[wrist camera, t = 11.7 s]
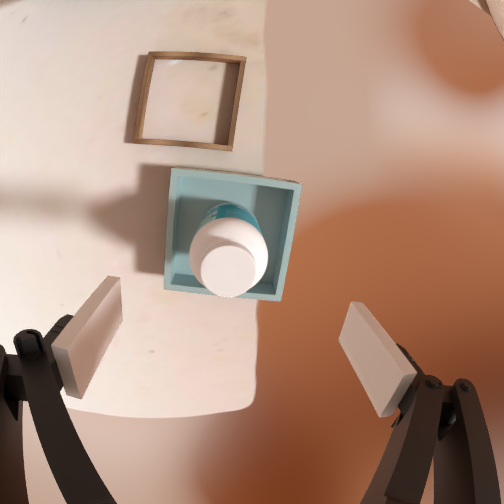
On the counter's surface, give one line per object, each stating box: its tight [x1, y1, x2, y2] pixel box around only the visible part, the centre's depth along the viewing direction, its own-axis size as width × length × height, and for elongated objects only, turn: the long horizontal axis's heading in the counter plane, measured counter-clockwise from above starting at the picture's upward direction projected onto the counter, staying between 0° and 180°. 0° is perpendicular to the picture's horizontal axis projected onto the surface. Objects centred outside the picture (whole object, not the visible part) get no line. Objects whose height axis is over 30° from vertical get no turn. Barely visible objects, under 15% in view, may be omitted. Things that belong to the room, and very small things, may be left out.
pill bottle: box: [189, 203, 268, 297], centre depth 30 cm, size 8×7×14 cm
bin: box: [164, 167, 302, 301], centre depth 36 cm, size 15×15×4 cm
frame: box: [133, 52, 247, 151], centre depth 31 cm, size 12×12×2 cm
